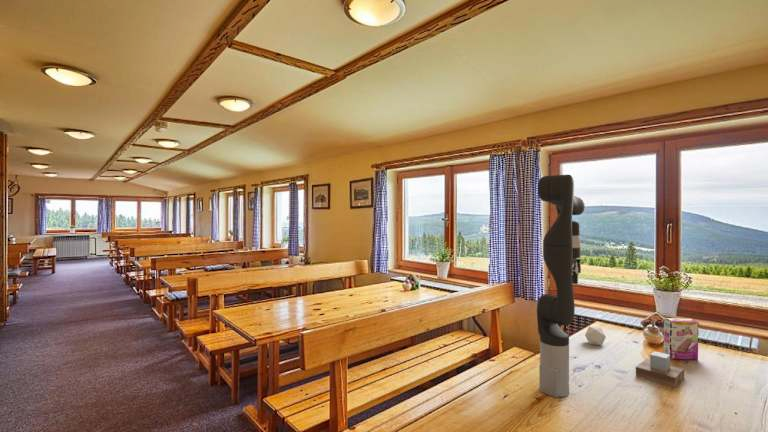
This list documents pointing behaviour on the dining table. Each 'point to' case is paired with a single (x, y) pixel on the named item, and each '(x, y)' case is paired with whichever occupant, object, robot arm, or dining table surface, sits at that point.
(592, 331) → the die
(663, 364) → the slate cube
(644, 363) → the walnut block
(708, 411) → the dining table surface
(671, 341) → the candy bar box
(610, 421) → the dining table surface
